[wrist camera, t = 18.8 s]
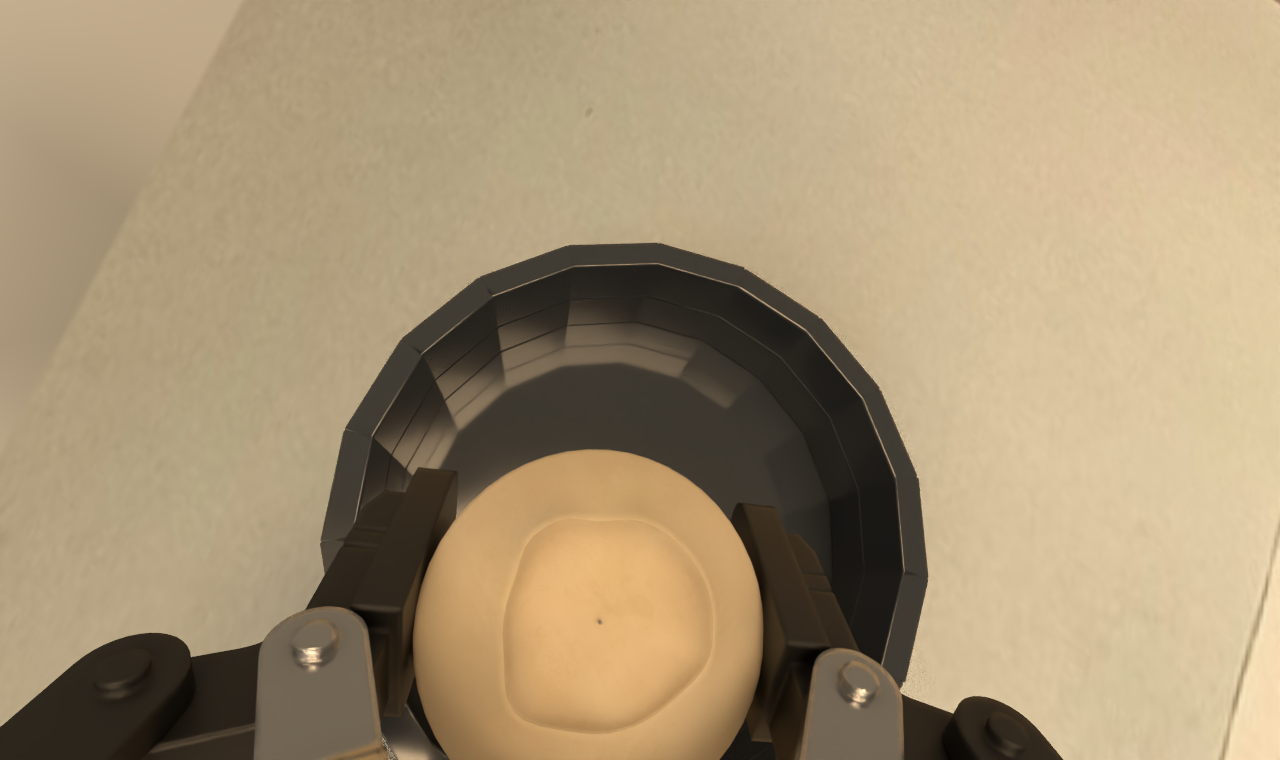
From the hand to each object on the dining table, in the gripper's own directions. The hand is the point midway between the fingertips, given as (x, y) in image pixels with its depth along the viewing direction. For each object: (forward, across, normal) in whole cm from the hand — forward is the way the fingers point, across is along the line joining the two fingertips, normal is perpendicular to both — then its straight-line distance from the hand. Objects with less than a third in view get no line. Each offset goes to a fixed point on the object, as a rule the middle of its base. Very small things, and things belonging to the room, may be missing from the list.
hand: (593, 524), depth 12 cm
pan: (+7, -2, +6) cm, 10 cm away
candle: (+3, 0, +6) cm, 7 cm away
